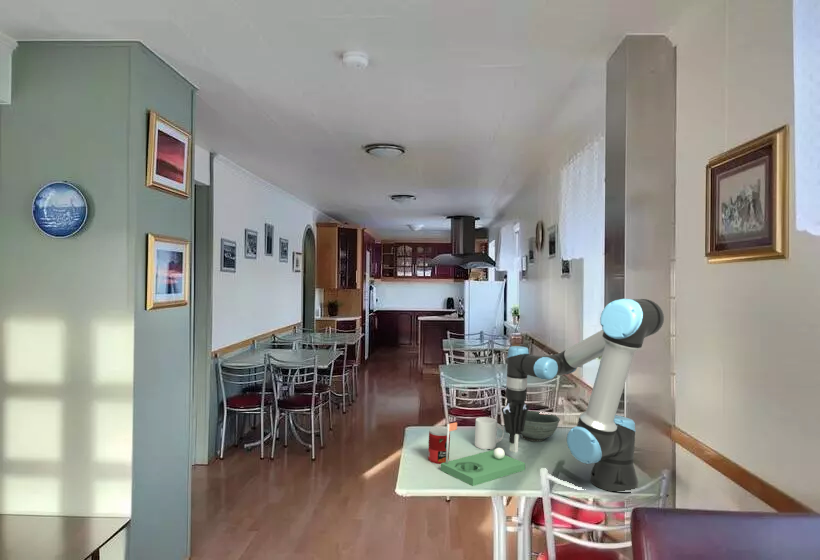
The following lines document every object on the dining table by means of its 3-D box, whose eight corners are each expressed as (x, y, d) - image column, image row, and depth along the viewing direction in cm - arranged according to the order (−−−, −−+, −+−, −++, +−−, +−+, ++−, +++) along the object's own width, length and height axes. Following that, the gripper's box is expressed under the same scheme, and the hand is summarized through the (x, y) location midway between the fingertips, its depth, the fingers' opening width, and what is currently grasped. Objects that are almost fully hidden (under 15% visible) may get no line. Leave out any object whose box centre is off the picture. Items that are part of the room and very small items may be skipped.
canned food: (440, 465, 191) (441, 435, 191) (423, 459, 196) (424, 430, 196) (453, 460, 196) (454, 431, 196) (436, 455, 202) (437, 426, 202)
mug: (507, 449, 211) (508, 422, 211) (478, 450, 209) (479, 423, 209) (499, 442, 220) (500, 416, 220) (471, 443, 217) (472, 417, 217)
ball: (506, 459, 193) (507, 448, 192) (499, 461, 190) (499, 450, 190) (498, 456, 196) (499, 445, 196) (491, 458, 193) (491, 447, 193)
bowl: (500, 439, 224) (501, 415, 224) (520, 428, 241) (521, 406, 241) (548, 450, 212) (549, 425, 212) (565, 437, 229) (566, 414, 229)
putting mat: (524, 470, 190) (526, 424, 189) (472, 486, 174) (474, 435, 173) (492, 456, 202) (493, 413, 202) (440, 470, 186) (442, 423, 186)
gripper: (520, 384, 204) (517, 445, 205) (496, 388, 196) (494, 451, 197) (535, 388, 198) (533, 451, 199) (512, 392, 190) (509, 457, 191)
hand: (513, 451), depth 198 cm, fingers closed
